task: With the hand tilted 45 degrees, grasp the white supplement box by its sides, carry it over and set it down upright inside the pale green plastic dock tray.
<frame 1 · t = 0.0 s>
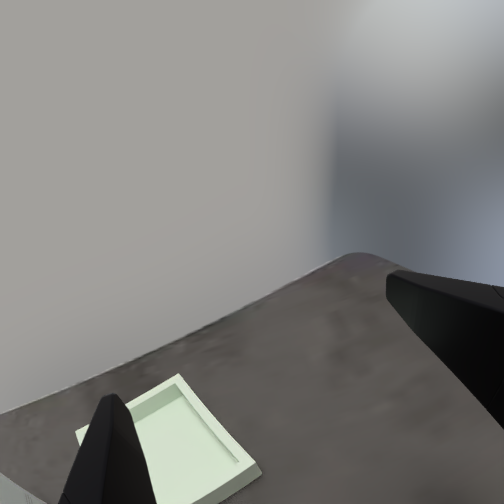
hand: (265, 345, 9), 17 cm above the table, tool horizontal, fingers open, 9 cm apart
dock tray: (163, 463, 21), on the table
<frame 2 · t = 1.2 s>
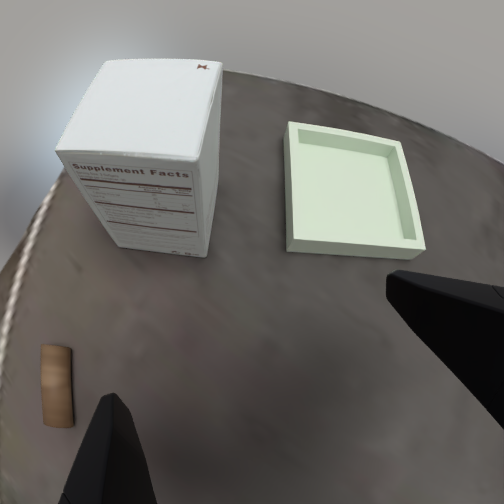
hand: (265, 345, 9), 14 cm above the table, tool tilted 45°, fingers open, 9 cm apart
supplement box: (169, 214, 25), on the table
walnut lock pin: (65, 386, 19), on the table, tilted 12°
dock tray: (347, 195, 28), on the table
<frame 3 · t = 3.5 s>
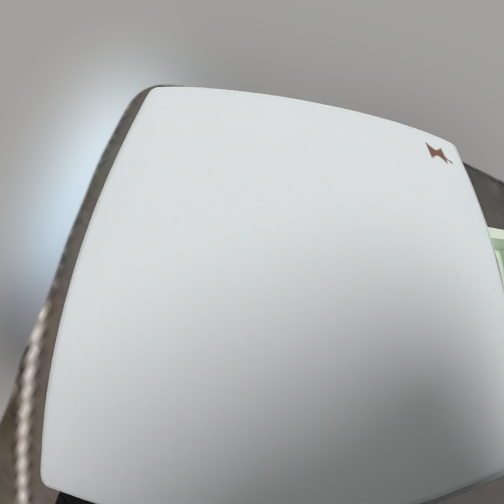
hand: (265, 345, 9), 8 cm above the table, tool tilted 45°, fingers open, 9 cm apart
supplement box: (247, 373, 15), on the table, touching gripper
dock tray: (467, 315, 18), on the table
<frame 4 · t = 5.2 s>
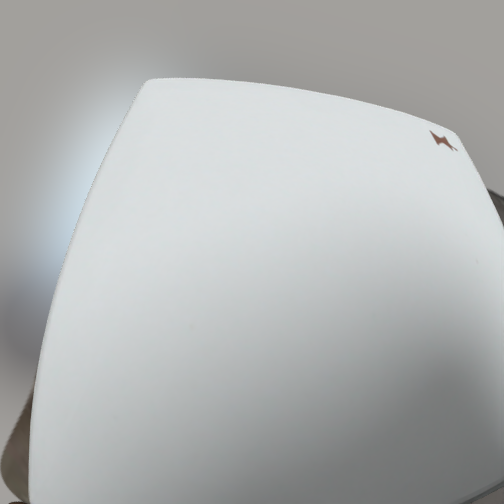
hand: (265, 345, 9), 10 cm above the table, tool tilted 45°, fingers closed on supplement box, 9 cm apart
supplement box: (248, 383, 15), point 3 cm above the table, touching gripper
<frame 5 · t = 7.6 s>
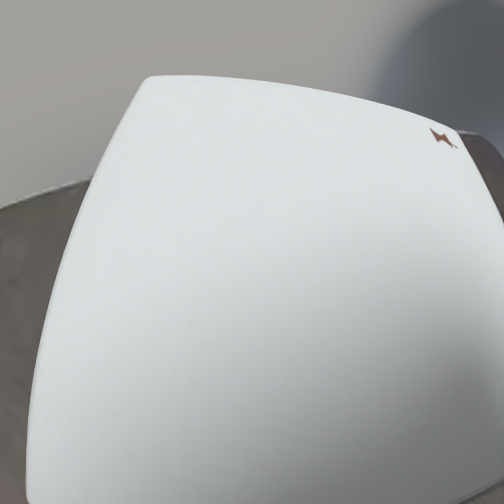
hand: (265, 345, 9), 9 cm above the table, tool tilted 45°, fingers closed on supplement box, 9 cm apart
supplement box: (248, 382, 15), point 2 cm above the table, touching gripper
when the fingers open (9 cm above the table, at t = 8.5 s): supplement box stays where it is, resting on dock tray.
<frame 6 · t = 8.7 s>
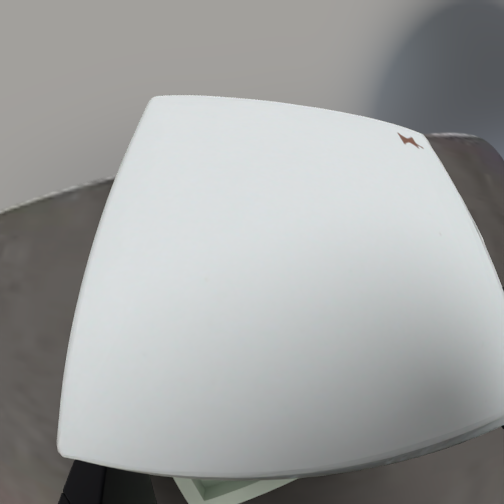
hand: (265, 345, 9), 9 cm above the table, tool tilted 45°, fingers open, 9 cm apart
supplement box: (245, 385, 15), point 1 cm above the table, touching dock tray, gripper
dock tray: (249, 377, 17), on the table
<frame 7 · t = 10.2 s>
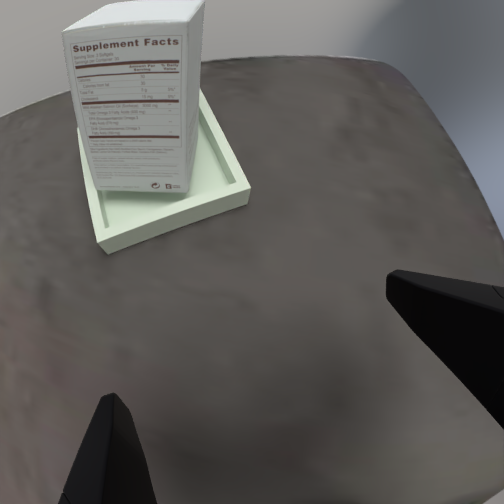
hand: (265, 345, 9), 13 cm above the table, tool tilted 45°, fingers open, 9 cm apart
supplement box: (149, 164, 24), point 1 cm above the table, touching dock tray
dock tray: (156, 169, 25), on the table
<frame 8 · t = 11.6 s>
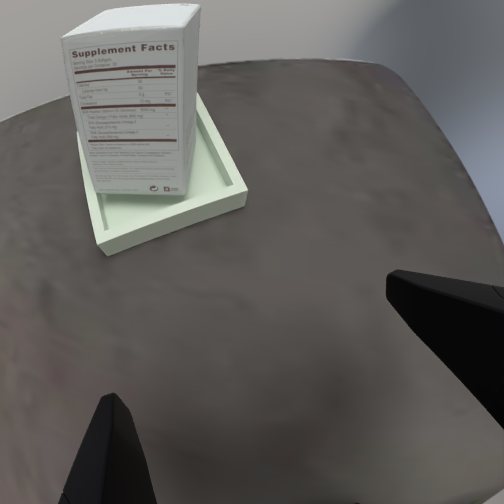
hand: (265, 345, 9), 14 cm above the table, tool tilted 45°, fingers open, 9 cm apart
supplement box: (148, 167, 24), point 1 cm above the table, touching dock tray
dock tray: (155, 172, 26), on the table
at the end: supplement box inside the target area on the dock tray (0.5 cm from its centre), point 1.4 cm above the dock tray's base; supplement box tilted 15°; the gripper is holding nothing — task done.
